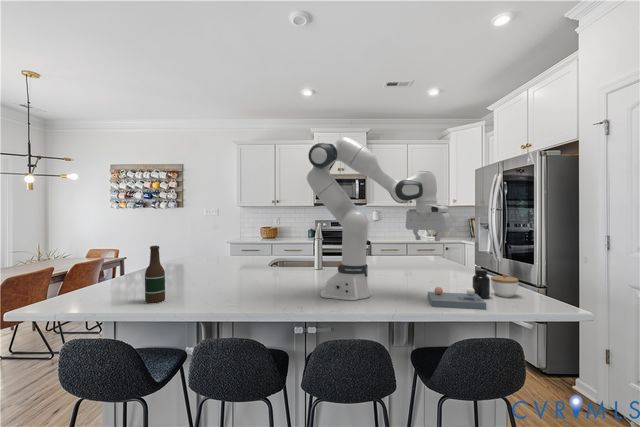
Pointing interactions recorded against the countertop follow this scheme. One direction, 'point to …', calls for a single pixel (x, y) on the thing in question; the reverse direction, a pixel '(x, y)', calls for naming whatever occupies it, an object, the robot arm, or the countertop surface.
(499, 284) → the lidded jar
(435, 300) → the plate
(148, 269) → the beer bottle
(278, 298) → the countertop surface
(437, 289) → the terracotta ball
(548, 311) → the countertop surface
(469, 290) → the cream ball
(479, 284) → the supplement bottle
